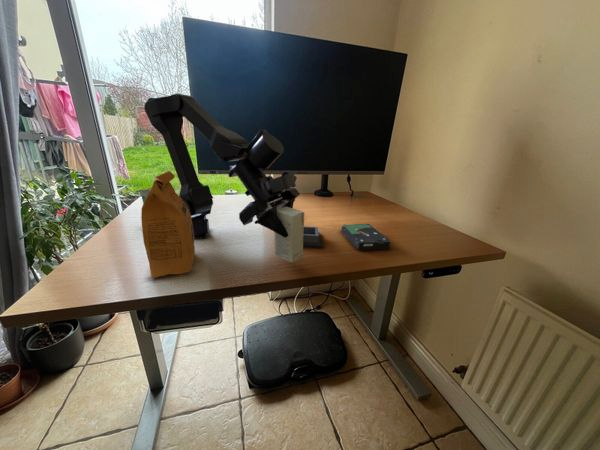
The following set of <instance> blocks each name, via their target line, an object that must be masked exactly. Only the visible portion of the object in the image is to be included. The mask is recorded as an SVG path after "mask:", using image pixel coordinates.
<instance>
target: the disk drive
mask: <svg viewBox="0 0 600 450" xmlns="http://www.w3.org/2000/svg"><path fill="white" fill-rule="evenodd" d="M341 232H342V233H343V235H344V236H345V237H346V238H347V239H348V240H349V241H350V242H351V244H352V245H353V246H354V247H355V248H356V249H357V250H359V251H360V250H361V251H365V250H366V251H367V250H368V251H369V250H385V249H386V250H387V249H390V246H391V240H390V239H388V238H387V237H386V236H385V235H384V234H382V233H381V232H379V231H378V230H377V229H376V228H375V227H373V226H372V225H371V224H370V223H355V224H342V225H341Z"/></svg>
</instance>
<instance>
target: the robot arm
mask: <svg viewBox="0 0 600 450" xmlns="http://www.w3.org/2000/svg"><path fill="white" fill-rule="evenodd" d="M143 106H144V108H143V109H144V112H145V114H146V116H147V118H148V120H149V122H150V125H151V126H152V127H153V128H154V129H155V130H156V131H158V133H160V135H161V136H162V138H163V141H164V144H165V146H166V148H167V151H168V154H169V157H170V159H171V162H172V165H173V167H174V171H175V173H176V175H177V178H178V181H179V184H180V190H179V194H178V195H179V196H180V197H181V199H182V200H183V201H184V202H185V204H186V205H187V207H188V210H189V212H190V215H191V219H192V225H193V230H194V239H206V238H207V236H208V234H209V233H210V223H209V221H210V220H209V218H207V215H211V212H212V207H213V205H214V200H213V199H214V197H213V195H212V192H211V188H210V187H209V185H208V184H206V185H204V184H203V183H201V181H200V180H199V178H198V175H197V172H196V168H195V166H194V163H193V160H192V158H191V157H192V156H191V154H190V152H189V149H188V146H187V143H186V141H185V138H184V135H183V133H182V130H183V125H184V118H185V120H187V121H188V122H189V123H190V124H191V125H192V126H193V127H194V128H195V129H196V130H197V131H199V132H200V133H201V134H202V135H203V136H204V138H206V140H207V141H208V142H209V146H210V150H211V151H212V152H213V153H214V154H215V155H216V157H217V158H218V159H219V160H220V161H221V162H225V163H227V162H235V164H234V165H229V170H228V177H229V178H235V177H237V178H238V179H239V181H240V182H241V183H242V185H243V186H244V188H245V189H246V191H245V192H244V194H245V195H246V197H250V196H251V198H252V199H253V201H250V202H249V203H248V204H247V205H246V206H245V207H244V208H243V209H242V210H241V211H240V212H239V213H238V219H239V221H240V222H241V224H242V225H243V226H244V227H245V226H247V225H248V224H251V223H253V222H254V224H255V225H260V226H262V227H263V228H266V229H268V230H271V231H272V232H273V233H274V232H276V233H277V234H279V235H281V236H283V237H284V238H286V237H287V236H288V233H287V231H286V229H285V228H284V226H283V224H282V223H281V221H280V219H279V218H278V216H277V209H279V208H282V207H290V208H293V209H294V205H295V204H294V203H295V202H296V199H297V198H298V197H300V195H301V193H300V192H299V191H298V189H297V188H295V187H297V184H296V182H297V176H296V175H295V174H294V172H292V171H291V170H286V171H284V172H282V173H281V175H280V176H278V177H275V178H274V177H273V176H272V175H268V176H267V175H266V173H265V172H264V171H263V170H268V169H269V168H270V167H271V166H272V165H273V164H274V162H275V161H277V159H279V158H280V156H281V155H282V154H283V153H284V151H285V149H284V146H283V144H282V142H281V141H280V140H279V139H278V138H277V137H275V136H274V135H272V134H270V133H269V132H268V131H267V129H259V130H258V132H257V133H256V134H255V136H254V138H253V139H252V141H251V142H248V141H247V140H246V138H244V136H241V135H240V134H238V133H237V132H236V131H233V130H230V129H227V128H226V127H224V126H223V125H221V123H220V122H218V121H217V120H216V119H215V118H214V117H213V116H212V115H211V114H209V112H208V111H206V110H205V109H204V108H203V107H202V106H201V105H200V104H199V103H198V102H196V99H195V98H194V97H192V96H191V95H188V94H183V93H173V94H170V95H167V96H159V97H151V96H150V97H149V98H148V99H147V100H146V102H144V105H143ZM236 161H237V162H236ZM254 218H256V219H255V221H254Z"/></svg>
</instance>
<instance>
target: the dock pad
mask: <svg viewBox="0 0 600 450" xmlns="http://www.w3.org/2000/svg"><path fill="white" fill-rule="evenodd" d="M303 248H311V249H312V248H315V249H322V248H323V245H322V238H321V233H320V232H319V227H318V226H307V225H306V226H305V225H304V234H303Z"/></svg>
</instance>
